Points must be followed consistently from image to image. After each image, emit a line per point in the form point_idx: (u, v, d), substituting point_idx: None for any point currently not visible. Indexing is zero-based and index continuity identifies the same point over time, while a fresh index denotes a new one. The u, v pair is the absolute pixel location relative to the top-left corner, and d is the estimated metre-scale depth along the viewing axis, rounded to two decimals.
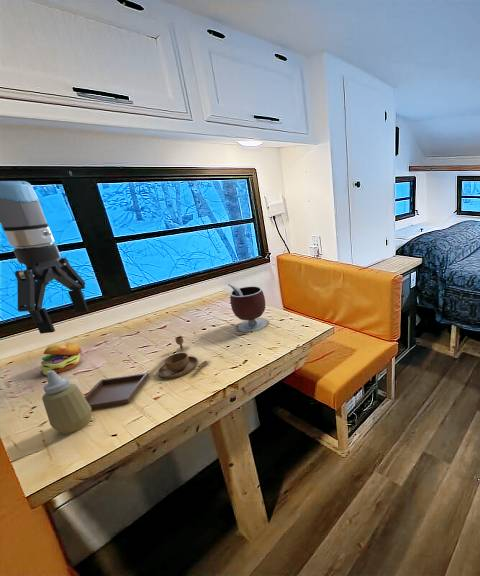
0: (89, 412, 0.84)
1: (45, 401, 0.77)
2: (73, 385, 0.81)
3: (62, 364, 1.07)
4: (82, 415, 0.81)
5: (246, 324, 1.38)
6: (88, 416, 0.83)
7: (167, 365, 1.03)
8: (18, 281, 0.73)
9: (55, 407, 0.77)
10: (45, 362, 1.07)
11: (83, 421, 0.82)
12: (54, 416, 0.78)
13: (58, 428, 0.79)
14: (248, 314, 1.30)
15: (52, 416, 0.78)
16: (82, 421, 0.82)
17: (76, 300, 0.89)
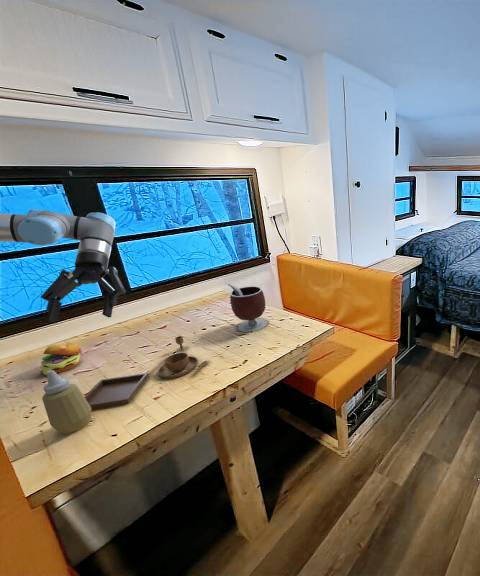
0: (89, 412, 0.84)
1: (45, 401, 0.77)
2: (73, 385, 0.81)
3: (62, 364, 1.07)
4: (82, 415, 0.81)
5: (246, 324, 1.38)
6: (88, 416, 0.83)
7: (167, 365, 1.03)
8: (113, 272, 0.95)
9: (55, 407, 0.77)
10: (45, 362, 1.07)
11: (83, 421, 0.82)
12: (54, 416, 0.78)
13: (58, 428, 0.79)
14: (248, 314, 1.30)
15: (52, 416, 0.78)
16: (82, 421, 0.82)
17: (55, 309, 0.89)
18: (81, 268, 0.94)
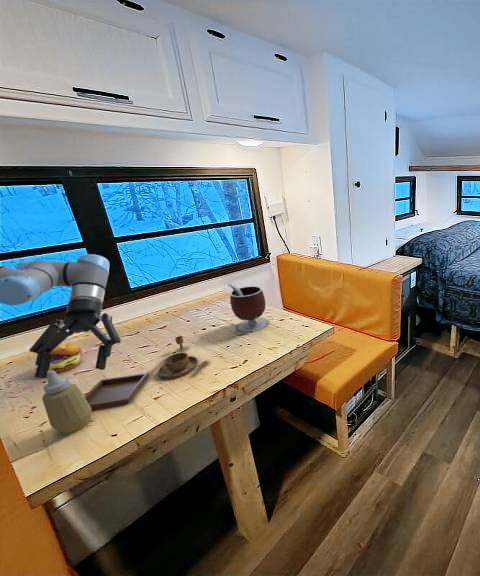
0: (89, 412, 0.84)
1: (45, 401, 0.77)
2: (73, 385, 0.81)
3: (62, 364, 1.07)
4: (82, 415, 0.81)
5: (246, 324, 1.38)
6: (88, 416, 0.83)
7: (167, 365, 1.03)
8: (107, 320, 0.90)
9: (55, 407, 0.77)
10: None
11: (83, 421, 0.82)
12: (54, 416, 0.78)
13: (58, 428, 0.79)
14: (248, 314, 1.30)
15: (52, 416, 0.78)
16: (82, 421, 0.82)
17: (45, 363, 0.84)
18: (73, 316, 0.89)
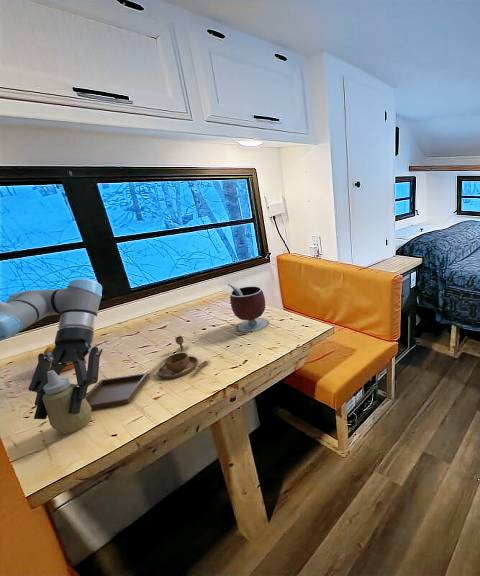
0: (89, 412, 0.84)
1: (45, 401, 0.77)
2: (73, 385, 0.81)
3: None
4: (82, 416, 0.81)
5: (246, 324, 1.38)
6: (88, 416, 0.83)
7: (167, 365, 1.03)
8: (94, 355, 0.84)
9: (55, 407, 0.77)
10: None
11: (83, 421, 0.82)
12: (54, 416, 0.78)
13: (58, 428, 0.79)
14: (248, 314, 1.30)
15: (52, 416, 0.78)
16: (82, 421, 0.82)
17: None
18: (62, 346, 0.84)
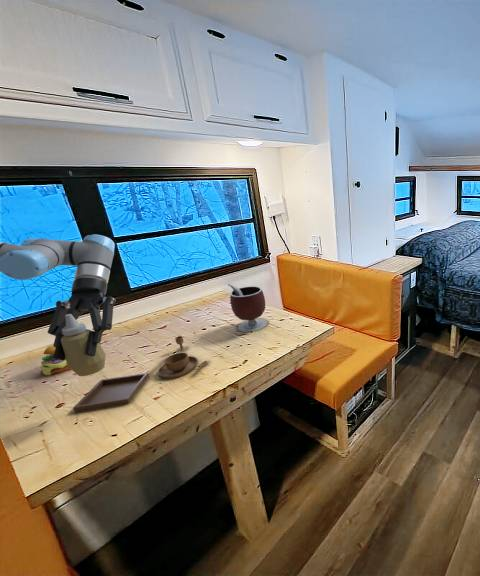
0: (103, 357, 0.88)
1: (63, 342, 0.82)
2: (89, 330, 0.86)
3: (62, 364, 1.07)
4: (97, 359, 0.86)
5: (246, 324, 1.38)
6: (103, 361, 0.88)
7: (167, 365, 1.03)
8: (108, 304, 0.89)
9: (72, 348, 0.82)
10: (45, 362, 1.07)
11: (98, 364, 0.87)
12: (72, 357, 0.83)
13: (75, 369, 0.84)
14: (248, 314, 1.30)
15: (70, 357, 0.83)
16: (98, 365, 0.87)
17: None
18: (78, 295, 0.89)
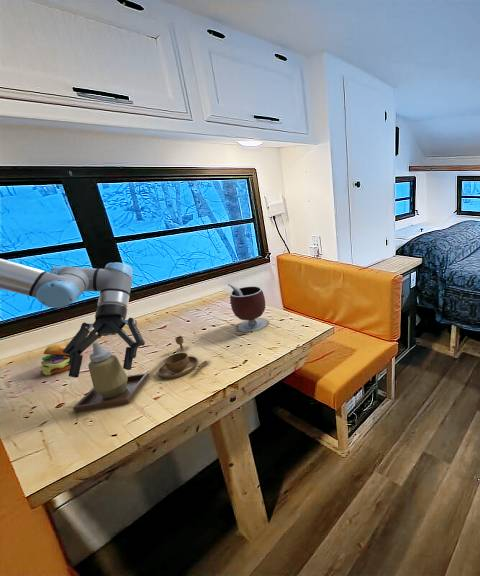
0: (126, 380, 0.96)
1: (91, 368, 0.89)
2: (113, 356, 0.94)
3: (62, 364, 1.07)
4: (120, 382, 0.94)
5: (246, 324, 1.38)
6: (125, 383, 0.96)
7: (167, 365, 1.03)
8: (133, 324, 0.97)
9: (99, 373, 0.90)
10: (45, 362, 1.07)
11: (121, 387, 0.94)
12: (98, 381, 0.90)
13: (101, 392, 0.91)
14: (248, 314, 1.30)
15: (96, 381, 0.90)
16: (121, 387, 0.94)
17: (77, 363, 0.91)
18: (101, 320, 0.96)
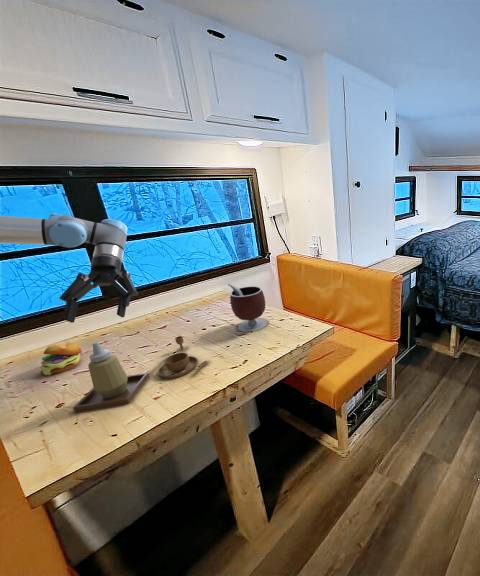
0: (126, 380, 0.96)
1: (91, 368, 0.89)
2: (113, 356, 0.94)
3: (62, 364, 1.07)
4: (120, 382, 0.94)
5: (246, 324, 1.38)
6: (125, 383, 0.96)
7: (167, 365, 1.03)
8: (126, 275, 1.02)
9: (99, 373, 0.90)
10: (45, 362, 1.07)
11: (121, 387, 0.94)
12: (98, 381, 0.90)
13: (101, 392, 0.91)
14: (248, 314, 1.30)
15: (96, 381, 0.90)
16: (121, 387, 0.94)
17: (73, 309, 0.96)
18: (96, 271, 1.01)
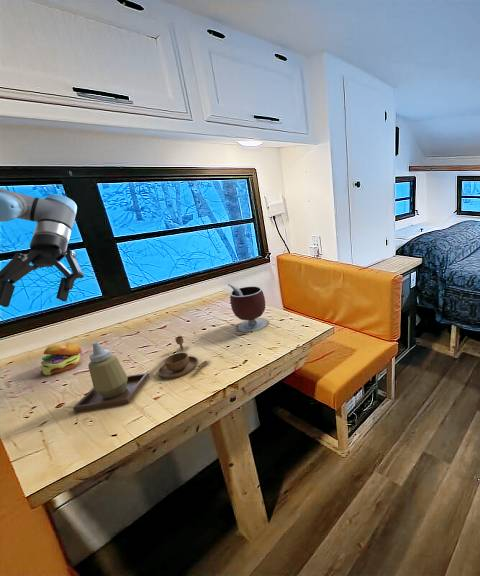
0: (126, 380, 0.96)
1: (91, 368, 0.89)
2: (113, 356, 0.94)
3: (62, 364, 1.07)
4: (120, 382, 0.94)
5: (246, 324, 1.38)
6: (125, 383, 0.96)
7: (167, 365, 1.03)
8: (71, 256, 0.92)
9: (99, 373, 0.90)
10: (45, 362, 1.07)
11: (121, 387, 0.94)
12: (98, 381, 0.90)
13: (101, 392, 0.91)
14: (248, 314, 1.30)
15: (96, 381, 0.90)
16: (121, 387, 0.94)
17: (7, 292, 0.86)
18: (37, 251, 0.91)
